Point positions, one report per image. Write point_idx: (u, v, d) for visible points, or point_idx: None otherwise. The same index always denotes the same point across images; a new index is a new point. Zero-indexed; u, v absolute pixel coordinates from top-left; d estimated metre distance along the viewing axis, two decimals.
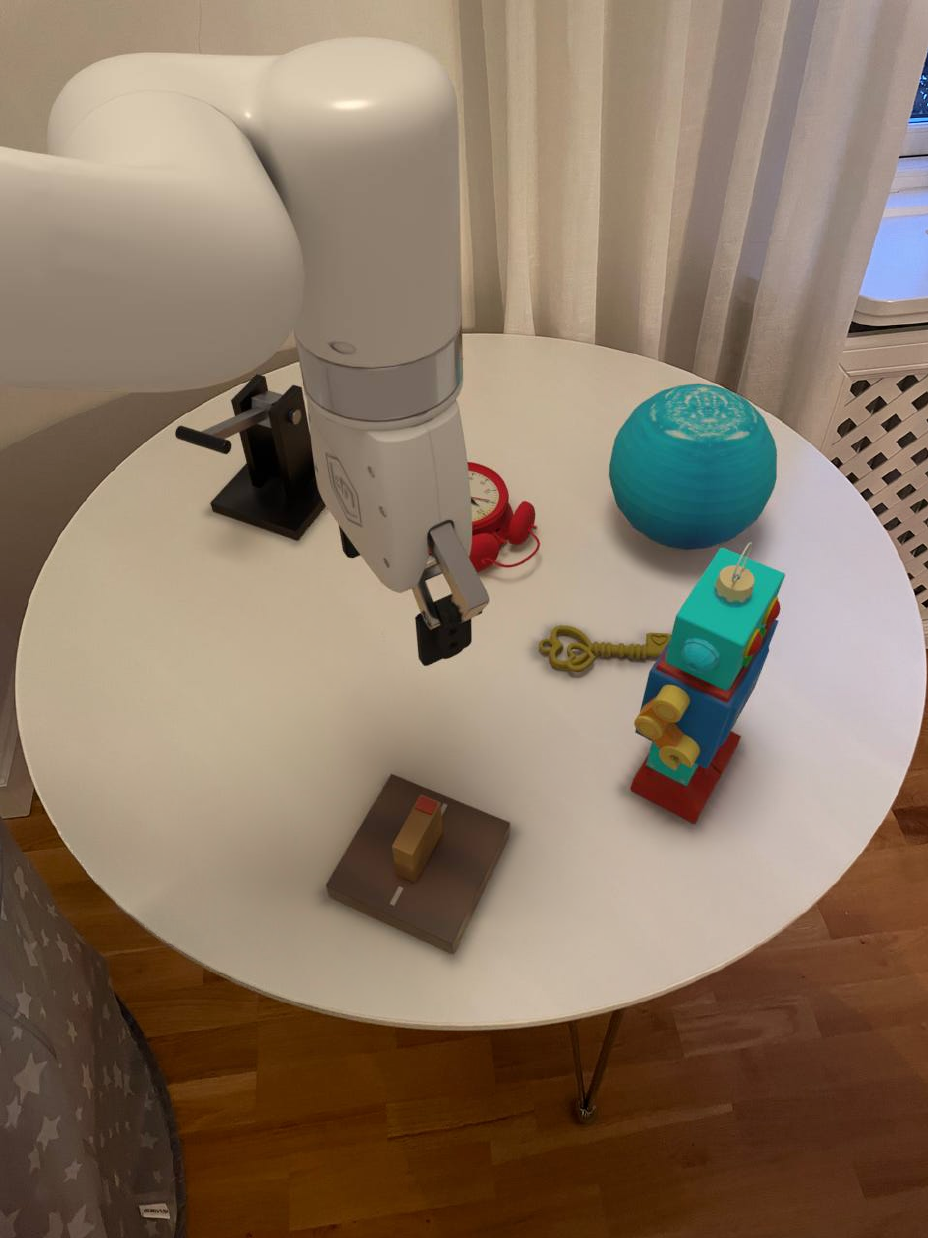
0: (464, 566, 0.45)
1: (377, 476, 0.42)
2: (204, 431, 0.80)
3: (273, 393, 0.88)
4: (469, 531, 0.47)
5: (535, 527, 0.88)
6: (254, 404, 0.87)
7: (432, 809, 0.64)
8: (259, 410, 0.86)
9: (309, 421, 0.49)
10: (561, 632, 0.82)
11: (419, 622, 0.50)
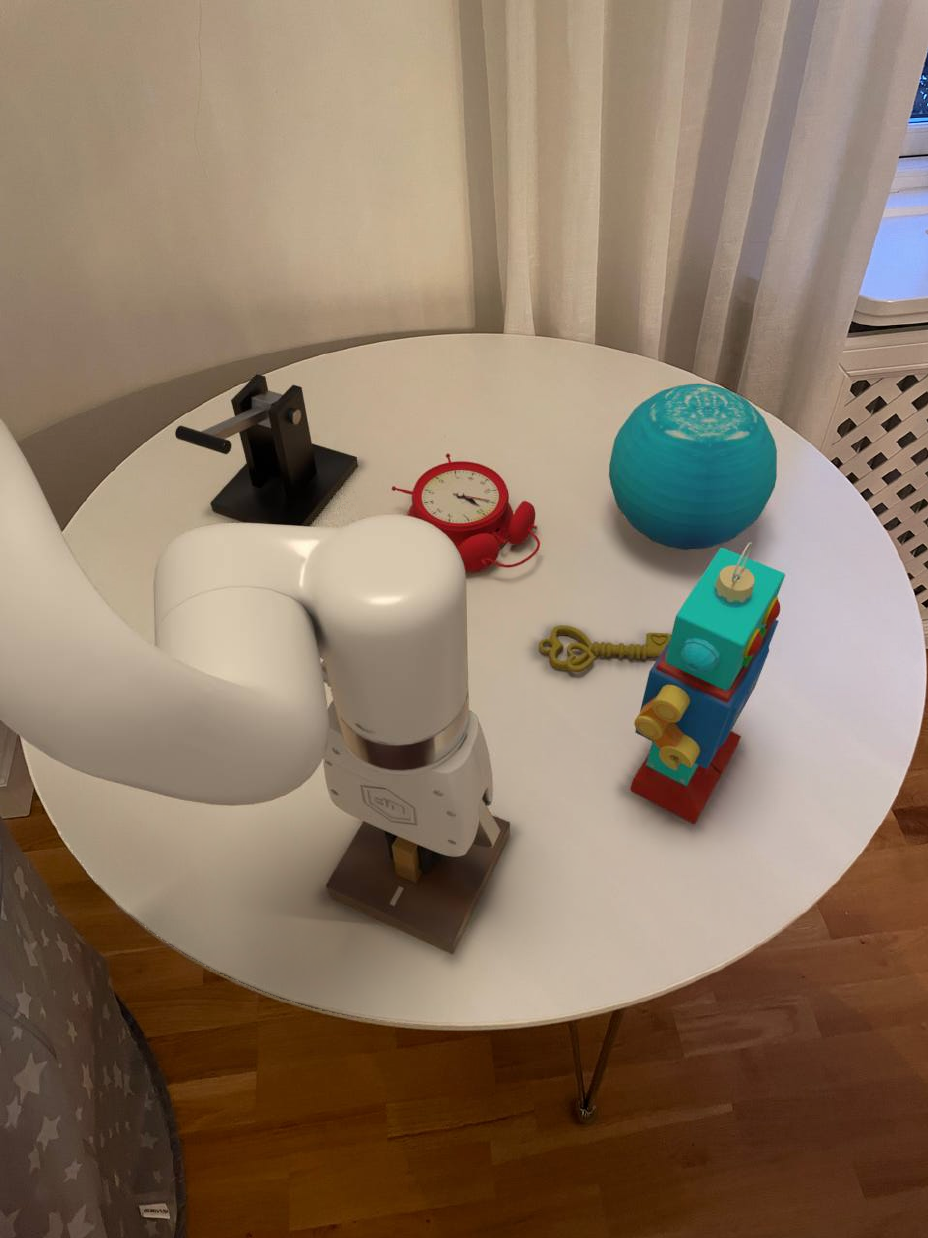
0: (489, 821, 0.59)
1: (446, 794, 0.53)
2: (204, 431, 0.80)
3: (273, 393, 0.88)
4: (492, 784, 0.59)
5: (535, 527, 0.88)
6: (254, 404, 0.87)
7: None
8: (259, 410, 0.86)
9: (328, 765, 0.57)
10: (561, 632, 0.82)
11: (424, 851, 0.63)
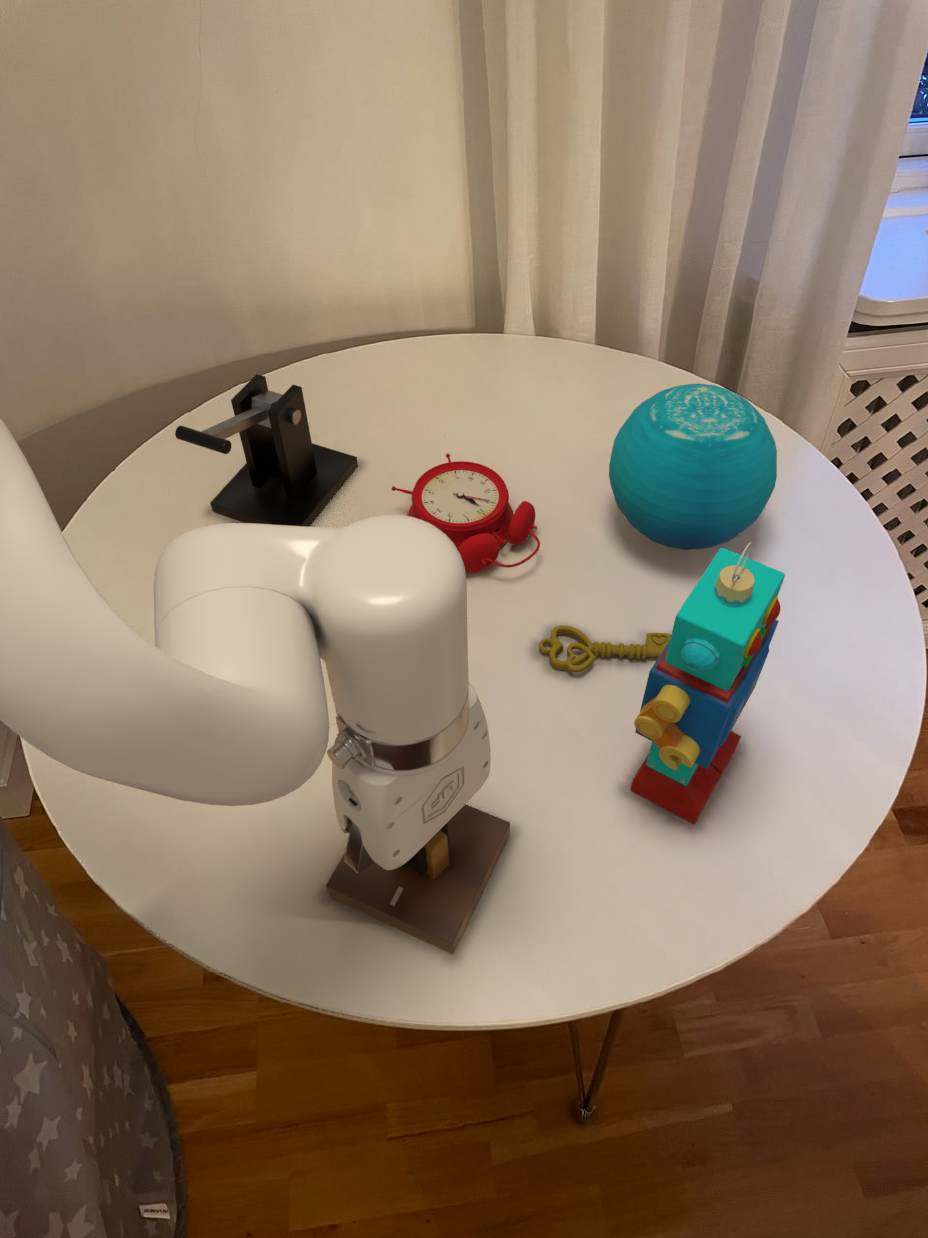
0: None
1: (480, 719, 0.56)
2: (204, 431, 0.80)
3: (273, 393, 0.88)
4: None
5: (535, 527, 0.88)
6: (254, 404, 0.87)
7: None
8: (259, 410, 0.86)
9: (390, 829, 0.54)
10: (561, 632, 0.82)
11: (446, 825, 0.64)
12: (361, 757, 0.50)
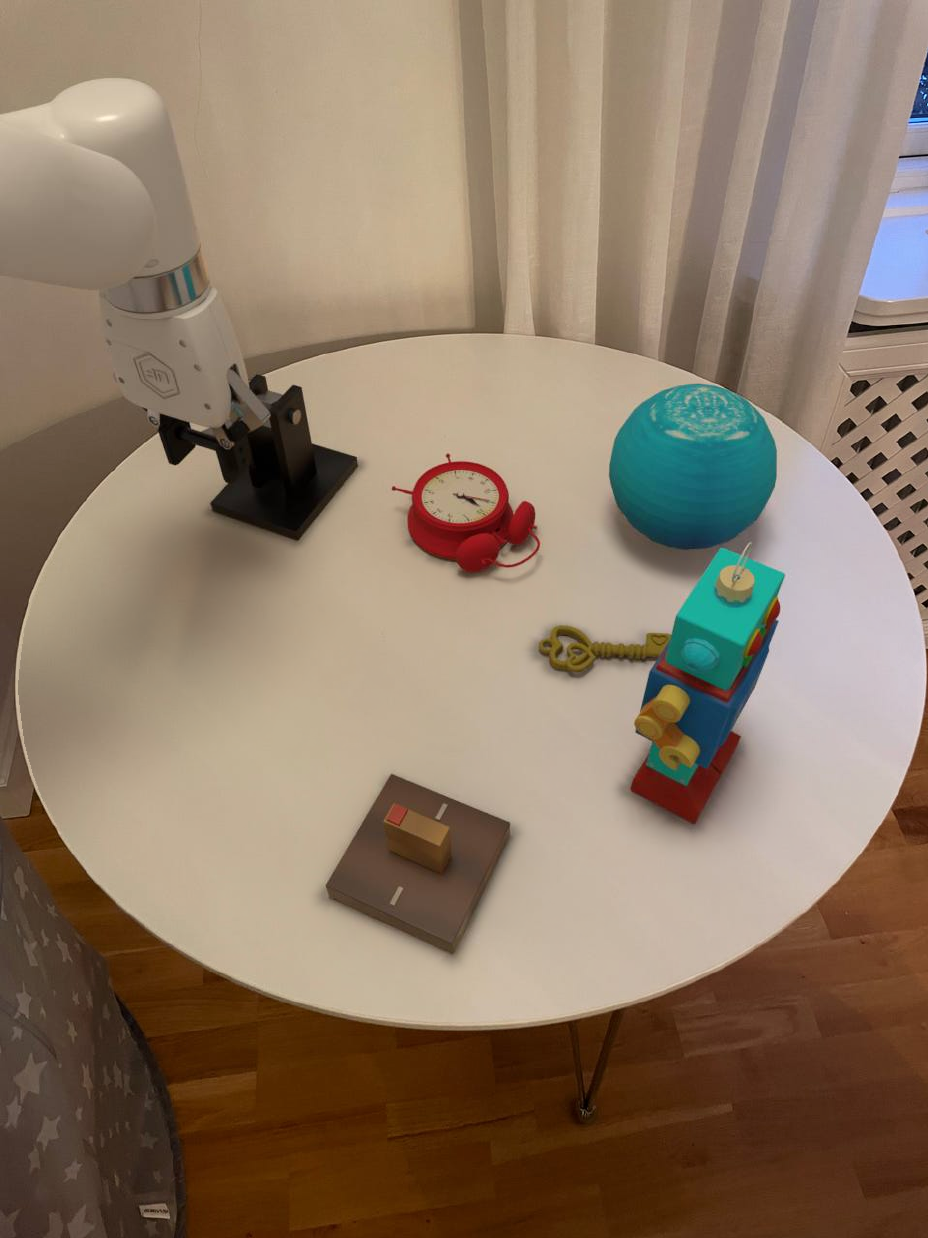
0: (252, 398, 0.73)
1: (188, 344, 0.68)
2: (204, 431, 0.80)
3: (273, 393, 0.88)
4: (245, 371, 0.74)
5: (535, 527, 0.88)
6: None
7: (402, 808, 0.65)
8: None
9: (109, 345, 0.72)
10: (561, 632, 0.82)
11: (220, 449, 0.77)
12: None
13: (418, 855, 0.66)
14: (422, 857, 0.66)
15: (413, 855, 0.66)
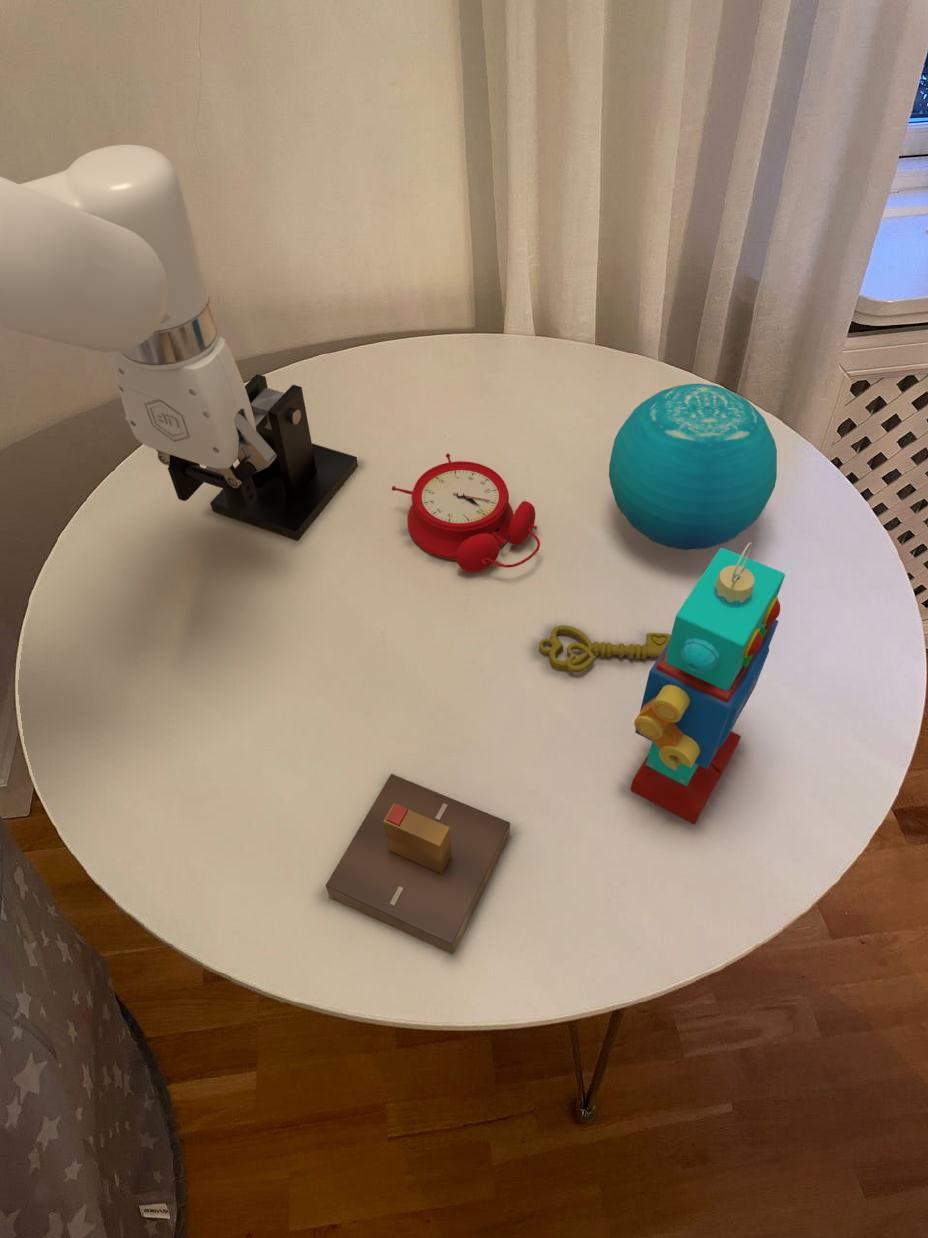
0: (259, 440, 0.76)
1: (198, 392, 0.71)
2: (208, 467, 0.82)
3: (270, 392, 0.87)
4: (252, 414, 0.77)
5: (535, 527, 0.88)
6: (253, 410, 0.87)
7: (402, 808, 0.65)
8: (259, 418, 0.86)
9: (121, 391, 0.75)
10: (561, 632, 0.82)
11: (228, 488, 0.80)
12: None
13: (418, 855, 0.66)
14: (422, 857, 0.66)
15: (413, 855, 0.66)
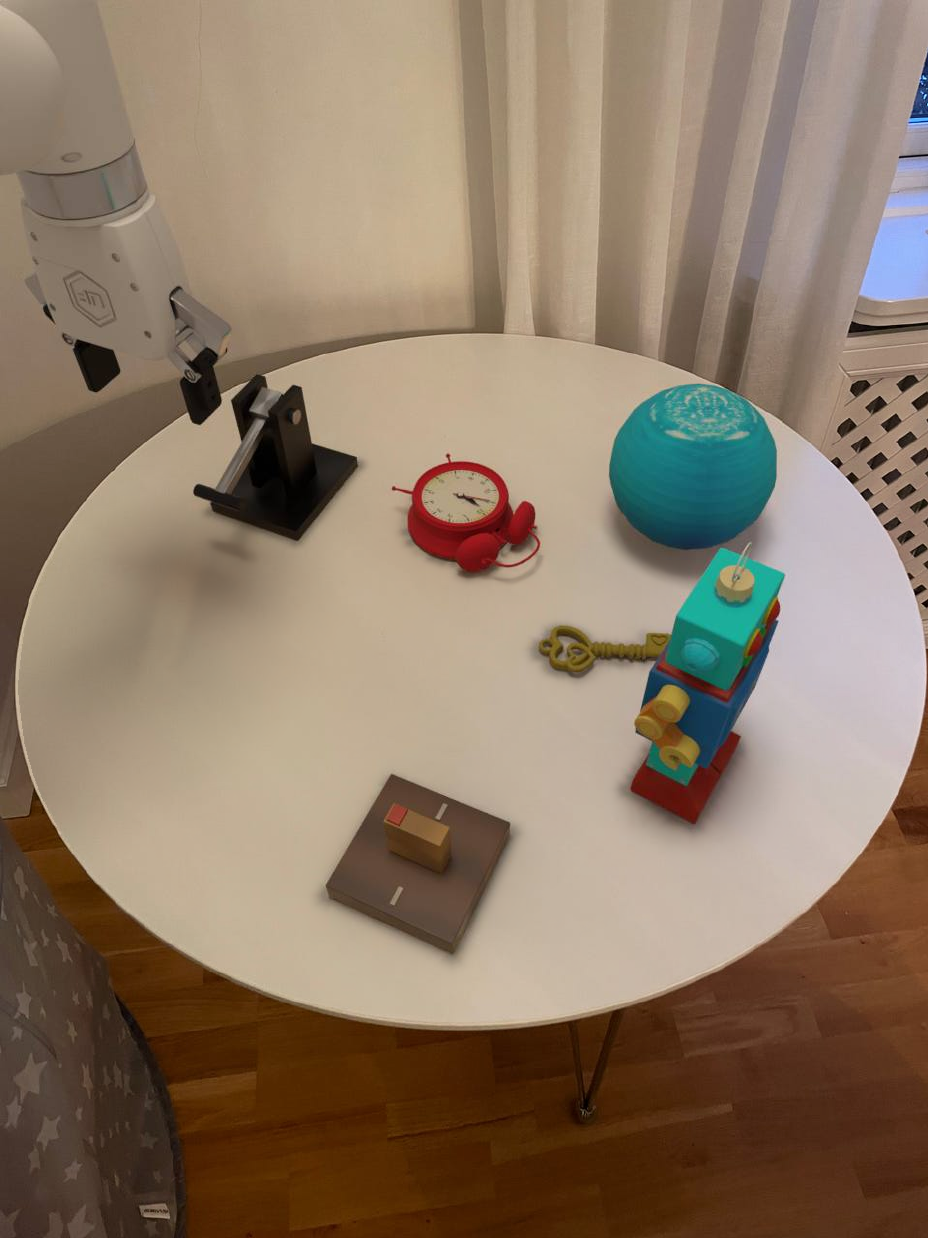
0: (204, 311, 0.63)
1: (122, 257, 0.59)
2: (217, 488, 0.85)
3: (267, 393, 0.87)
4: (193, 296, 0.65)
5: (535, 527, 0.88)
6: (253, 415, 0.87)
7: (402, 808, 0.65)
8: (260, 424, 0.87)
9: (36, 265, 0.63)
10: (561, 632, 0.82)
11: (184, 382, 0.67)
12: None
13: (418, 855, 0.66)
14: (422, 857, 0.66)
15: (413, 855, 0.66)
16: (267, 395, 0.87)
